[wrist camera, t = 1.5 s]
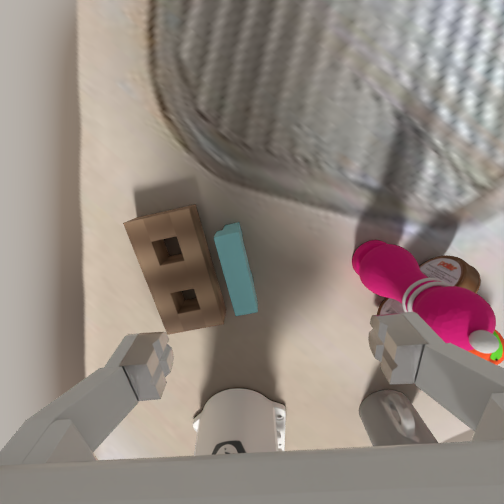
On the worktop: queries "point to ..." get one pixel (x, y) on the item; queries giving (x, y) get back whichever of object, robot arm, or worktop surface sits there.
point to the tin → (445, 270)
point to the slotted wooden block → (178, 269)
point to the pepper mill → (427, 296)
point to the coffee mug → (393, 420)
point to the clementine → (496, 356)
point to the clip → (236, 269)
